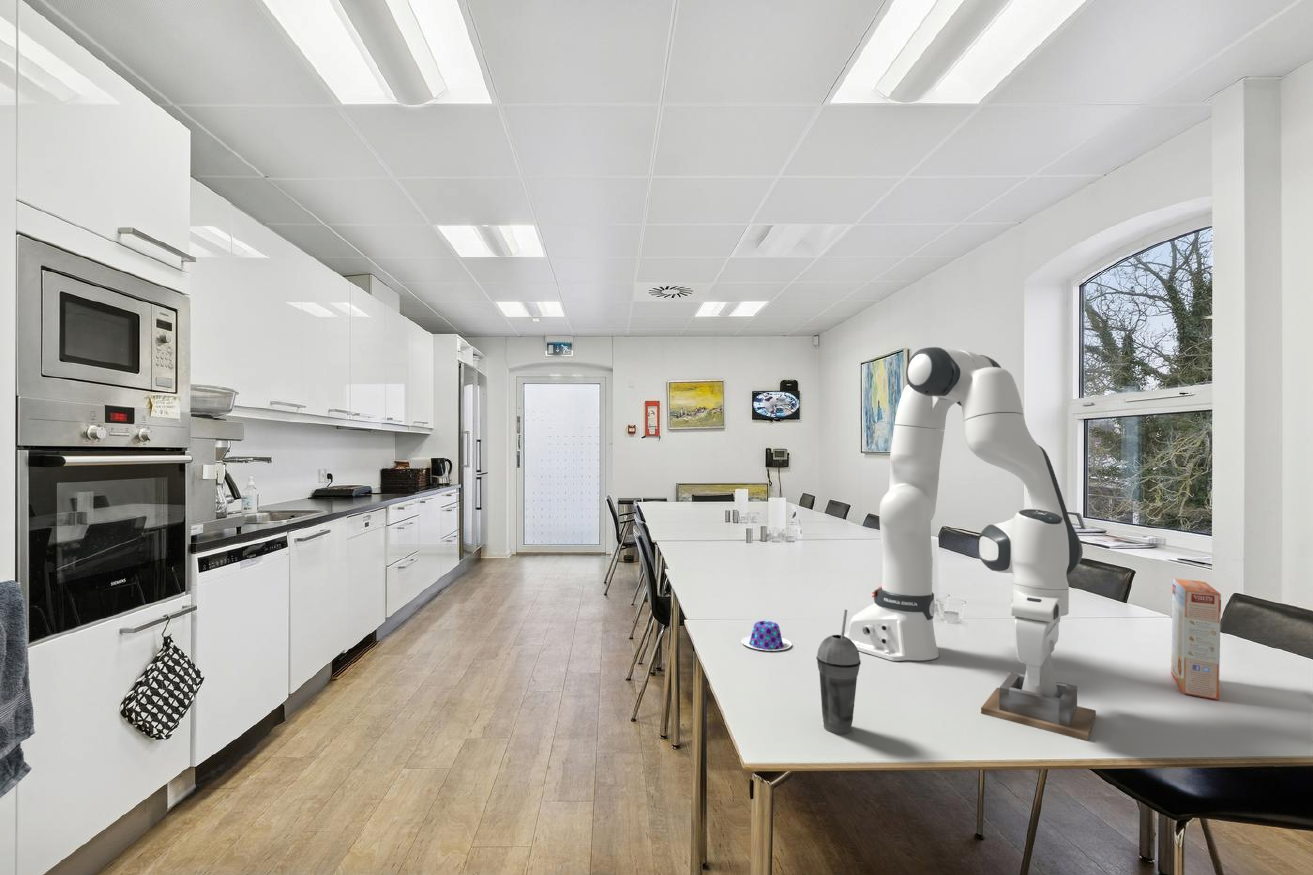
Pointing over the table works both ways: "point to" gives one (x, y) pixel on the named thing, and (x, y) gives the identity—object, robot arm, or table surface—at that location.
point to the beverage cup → (838, 680)
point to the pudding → (766, 637)
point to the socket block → (1041, 708)
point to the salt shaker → (1044, 678)
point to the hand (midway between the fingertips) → (1038, 677)
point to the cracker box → (1196, 638)
